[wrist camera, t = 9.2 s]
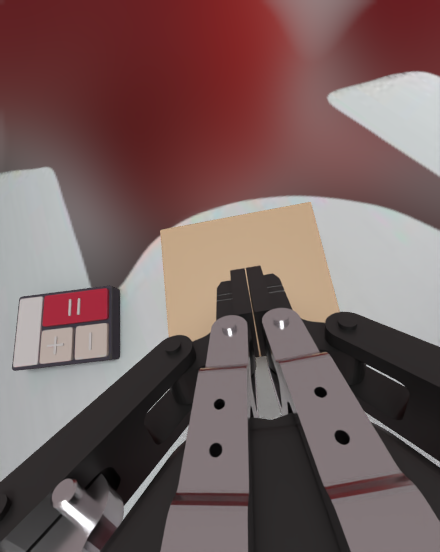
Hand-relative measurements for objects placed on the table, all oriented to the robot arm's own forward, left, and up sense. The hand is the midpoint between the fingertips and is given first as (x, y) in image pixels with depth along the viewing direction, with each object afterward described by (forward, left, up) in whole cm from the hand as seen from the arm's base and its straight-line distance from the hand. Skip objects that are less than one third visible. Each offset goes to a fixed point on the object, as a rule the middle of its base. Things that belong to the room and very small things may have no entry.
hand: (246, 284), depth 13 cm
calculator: (+22, -17, -26) cm, 39 cm away
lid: (-2, -3, -16) cm, 16 cm away
